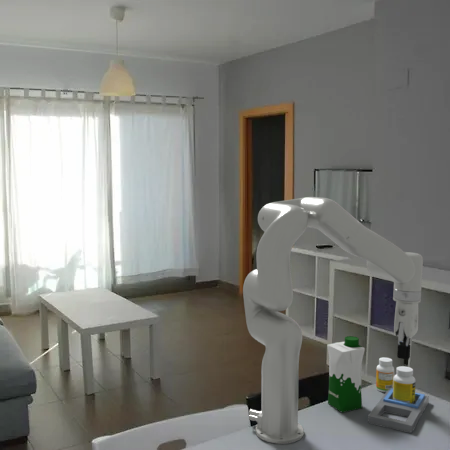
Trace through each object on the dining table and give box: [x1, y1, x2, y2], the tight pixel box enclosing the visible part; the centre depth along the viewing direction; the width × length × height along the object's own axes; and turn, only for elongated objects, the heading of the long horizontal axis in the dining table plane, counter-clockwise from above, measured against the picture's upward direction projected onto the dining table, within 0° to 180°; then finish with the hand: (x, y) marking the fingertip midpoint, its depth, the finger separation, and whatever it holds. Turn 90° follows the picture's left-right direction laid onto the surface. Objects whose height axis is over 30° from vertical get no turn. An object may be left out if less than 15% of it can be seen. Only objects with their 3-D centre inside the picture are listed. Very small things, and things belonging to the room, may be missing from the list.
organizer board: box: [367, 388, 430, 434], centre depth 158 cm, size 12×22×3 cm, turn 149°
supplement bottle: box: [375, 356, 395, 393], centre depth 174 cm, size 5×5×10 cm
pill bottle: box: [393, 365, 417, 404], centre depth 162 cm, size 6×6×11 cm
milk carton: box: [327, 335, 366, 413], centre depth 162 cm, size 9×9×20 cm
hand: (403, 357), depth 161 cm, fingers closed
